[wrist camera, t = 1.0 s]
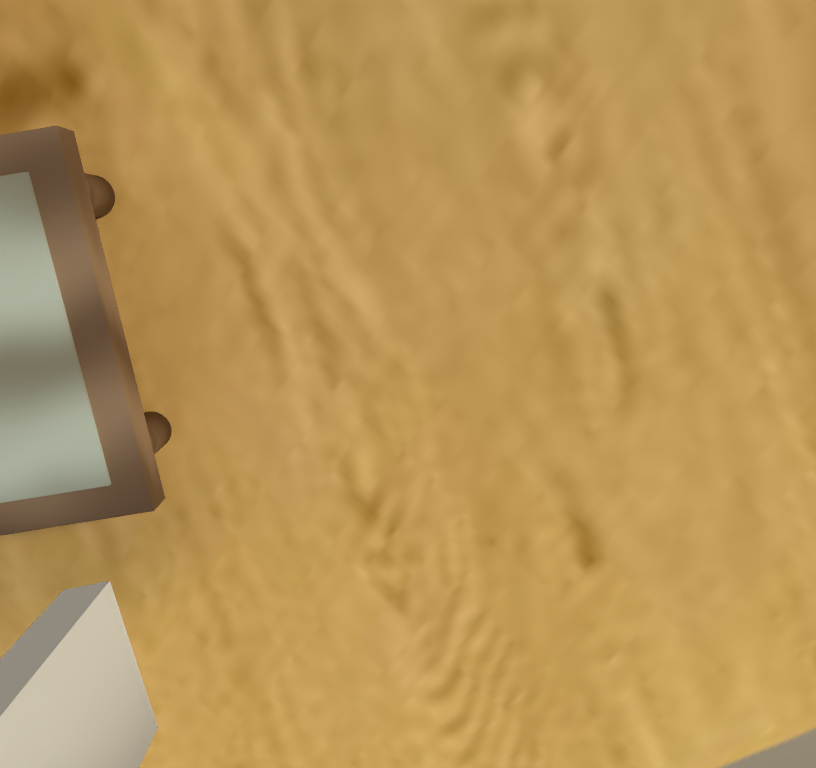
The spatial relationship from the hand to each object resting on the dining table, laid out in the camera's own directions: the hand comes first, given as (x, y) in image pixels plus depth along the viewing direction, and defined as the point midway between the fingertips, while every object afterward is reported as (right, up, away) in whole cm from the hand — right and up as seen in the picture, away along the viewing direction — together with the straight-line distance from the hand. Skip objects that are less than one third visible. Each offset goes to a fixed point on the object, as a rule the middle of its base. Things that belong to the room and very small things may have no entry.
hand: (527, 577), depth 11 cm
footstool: (-22, +5, +25) cm, 34 cm away
